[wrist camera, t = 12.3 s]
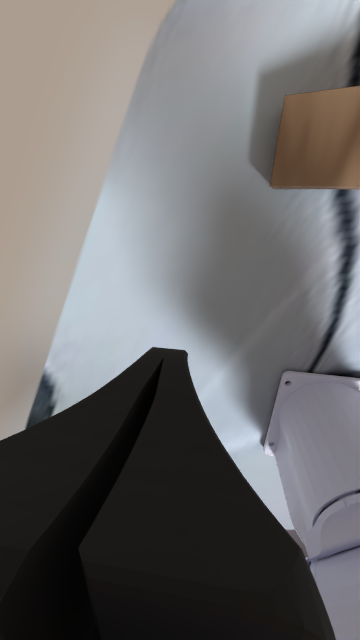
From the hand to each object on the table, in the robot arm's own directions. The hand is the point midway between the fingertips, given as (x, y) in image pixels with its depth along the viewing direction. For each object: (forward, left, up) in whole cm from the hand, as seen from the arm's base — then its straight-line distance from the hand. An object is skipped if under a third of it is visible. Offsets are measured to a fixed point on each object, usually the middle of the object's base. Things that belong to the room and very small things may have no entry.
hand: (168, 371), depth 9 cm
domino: (+9, -5, -10) cm, 14 cm away
